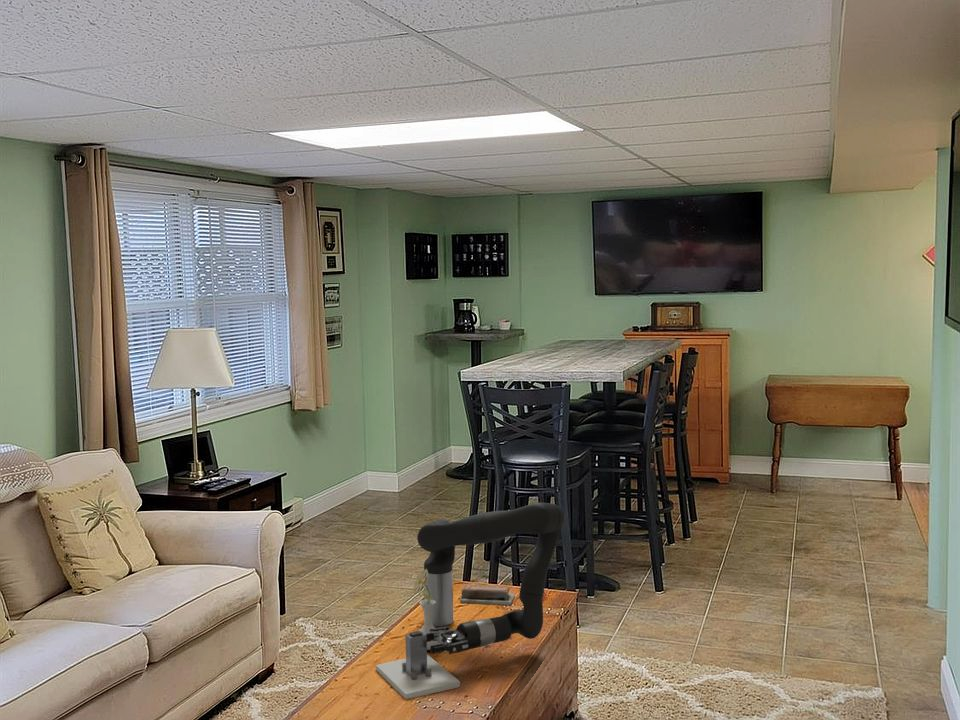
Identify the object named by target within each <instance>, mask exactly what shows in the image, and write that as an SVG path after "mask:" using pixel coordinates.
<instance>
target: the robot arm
mask: <svg viewBox="0 0 960 720" xmlns="http://www.w3.org/2000/svg"><path fill="white" fill-rule="evenodd" d="M563 524H564V512H563V510H562V509H561V507H560V506H559V505H557V504H555V503H550V502H542V501H541V502H533V503H531V504H528V505H523V506H522V507H521V506H520V507H518V508H515V509H510V510H495V511H488V512H481V513H477V514H473V515H470V516H467V517H466V516H465V517H463V518H461V519H459V520H456V521H452V522H450V521H449V520H447V519H444V518H443V519H437V520H435V521H432V522H429V523H426V524H425V525H423V526H422V527H421V528H420V529H419V531H418V533H417V537H416V538H417V543H418V545H419V547H420V548H421V549H423V550H424V551H425V552H430V553H429V556H428V557H427V558H426V559H425V561H424V563H423V569H424V571H425V570H426V569H427V570H428V580H427V583H426V585H427V587H428V589H429V593H430V595H431V597H430V600H434V601H436V603H435V604H434V606H433V609H432V625H433V626H434V627H435V628H433V629H430V633H427V634H426V635H427V642H430V641H438V643H439V644H434V645H431V646H430V650H429V651H430V653H431V654H438V653H442V652H444V653H448V654H450V655H452V654H458V653H461V652H465V651H469V650H472V649H477V648H481V647H486V646H490V645H491V644H496V643H501V642H505V641H508V640H509V639H510V638H511V637H512V635H514V634H518V635H521V636H522V637H524V638H526V639H528V640H531V639H532V640H534V639H535V638H537V637H538V635H540V634H541V631H542V629H543V624H544V605H543V604H544V603H543V597H544V594H545V593H544V592H545V587H546V582H547V577H548V573H549V572H548V571H549V569H550V564H551V561H552V558H553V555H554V551H555V549H556V545H557V543H558V539H559V537H560V534H561V531H562V528H563ZM520 534H521V535H522V534H537V535H538V537H537V541H536V546H535V548H534V551H533V553H532V555H531V557H530V558H529V561H528V562H527V563H526V566H525V569H524V571H523V574H522V577H521V584H520V589H519V595H518V597H519V600H520V602H521V603H522V605H523V606H522V607H523V609H515V610H512V611H509V612H507V613H505V614H503V615H501V616H496V617H491V618H481V619H475V620H472V621H466V622H462V623H459V624H458V625H457V628H456V629H450V626H449V625H451V624H453V623H454V592H453V591H454V590H453V589H454V582H453V576H454V575H453V564H454V562H455V558H456V557H455V556H456V547H457V546H471V545H481V544H483V545H484V544H489V543H495V542H499V541H503V540H504V539H507V538H508V537H510V536H514V535H520ZM424 588H425V589H426V590H427V588H426V586H424ZM424 588H423V589H424ZM427 591H428V590H427ZM426 599H427V598H426V597H425V596H424V600H426ZM434 634H435V635H434ZM441 637H442V639H441ZM443 643H444V644H443Z"/></svg>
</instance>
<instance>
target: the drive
mask: <svg viewBox="0 0 960 720" xmlns="http://www.w3.org/2000/svg"><path fill="white" fill-rule="evenodd" d="M404 638H405V659H406V673H407V674H408V675H409V676H411V671H417V675H421V674H426V668H427V655H428V650H427V635H426V634H425V633H423V632H422V631H419V630H417V631H412V632H411V631H410V632H409V633H407V634H405V637H404Z"/></svg>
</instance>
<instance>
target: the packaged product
mask: <svg viewBox="0 0 960 720" xmlns="http://www.w3.org/2000/svg"><path fill="white" fill-rule="evenodd" d="M509 592H510V587H508V586H507V587H505V586H504V587H503V586H493V585H479V584H478V585H477V584H465V585H464V587H463V588H462V589H461V598H459V603H460V604H473V603H481V604H480V605H490V604H499V605H498V606H511V605H512V603H513V602H514V600H515V598H514V597H515V596H516V593H509ZM513 599H514V600H513Z"/></svg>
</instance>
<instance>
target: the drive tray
mask: <svg viewBox="0 0 960 720" xmlns="http://www.w3.org/2000/svg"><path fill="white" fill-rule="evenodd" d="M375 670H377V671H378V672H379V673H378V672H377V671H376V672H377V673H378V674H379V675H380V676H381V677H383V678H384V679H385V681H386V682H388V683H389V685H391V686H392V687H393V688H394V690H396V692H398V693H399V694H400V695H401V696H402V698H404V699H405V700H410V699H414V698H417V697H418V698H419V697H423V696H426V695H430V694H431V695H432V694H435V693H438V692H443V691H447V690H448V691H449V690H453V689H456V688H460V687H461V682H460V680H459V679H458V678H456V677H455V676H454V675H453V674H451V673H450V672H449V671H448V670H446V668H445V667H443V666H442V665H441V664H439V663H438V662H437V661H436V660H435V659H433V658H432V657H431V656H430V655H429V654H427V668H426V674H421V675H417V671H411V676H409V675H408V674H407V673H406V658H402V659H397V660H392V661H388V662H384V663H379V664H375ZM422 695H423V696H422ZM413 697H414V698H413ZM409 698H410V699H409Z"/></svg>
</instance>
